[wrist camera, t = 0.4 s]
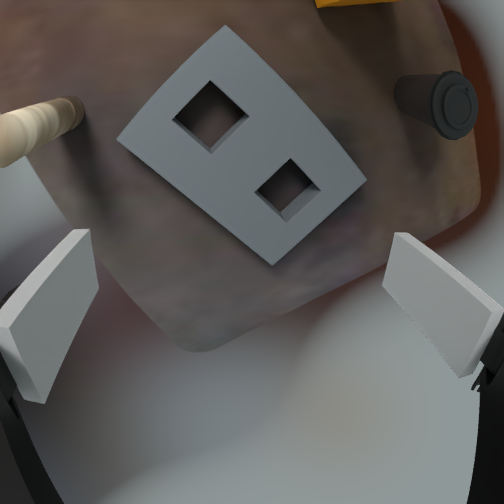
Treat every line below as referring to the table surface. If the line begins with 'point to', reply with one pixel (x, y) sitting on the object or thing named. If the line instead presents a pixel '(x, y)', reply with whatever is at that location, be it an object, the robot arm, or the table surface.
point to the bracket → (347, 2)
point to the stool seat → (244, 148)
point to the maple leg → (37, 126)
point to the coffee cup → (439, 102)
